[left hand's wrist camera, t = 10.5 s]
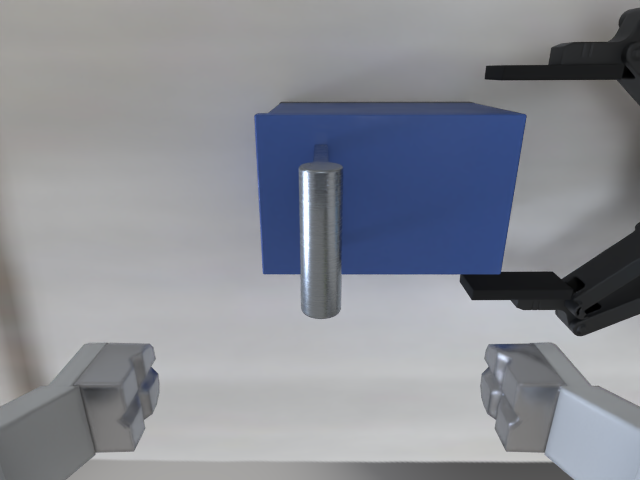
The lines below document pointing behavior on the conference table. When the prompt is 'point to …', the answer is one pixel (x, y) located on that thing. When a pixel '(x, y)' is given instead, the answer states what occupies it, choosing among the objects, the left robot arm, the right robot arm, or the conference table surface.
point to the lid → (383, 195)
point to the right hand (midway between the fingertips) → (477, 188)
